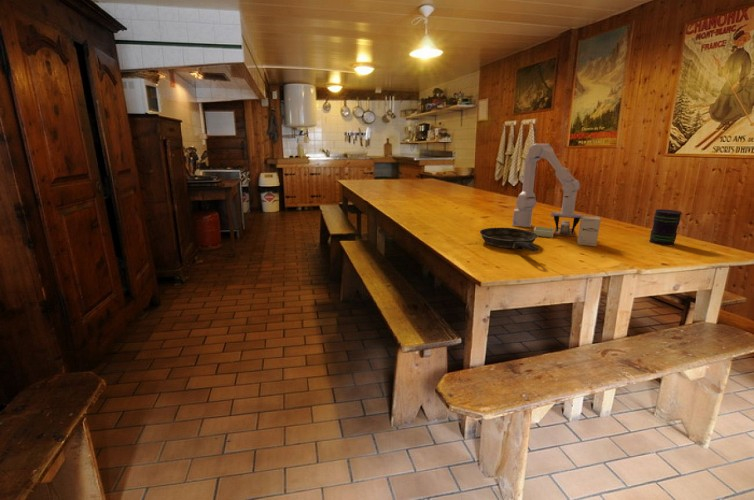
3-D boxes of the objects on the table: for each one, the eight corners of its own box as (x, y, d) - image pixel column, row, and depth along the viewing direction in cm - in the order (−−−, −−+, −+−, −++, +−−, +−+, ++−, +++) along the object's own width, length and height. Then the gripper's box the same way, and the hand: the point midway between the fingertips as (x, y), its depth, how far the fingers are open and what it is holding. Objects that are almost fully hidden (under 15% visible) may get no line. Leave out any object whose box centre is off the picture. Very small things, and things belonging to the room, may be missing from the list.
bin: (533, 235, 197) (533, 230, 196) (534, 231, 205) (535, 226, 204) (552, 237, 193) (553, 232, 193) (553, 233, 201) (554, 228, 200)
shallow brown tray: (554, 235, 198) (554, 233, 198) (555, 228, 212) (555, 227, 212) (574, 237, 195) (574, 235, 195) (573, 230, 209) (574, 228, 209)
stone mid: (560, 232, 203) (561, 223, 201) (560, 230, 206) (561, 222, 205) (568, 233, 201) (570, 224, 200) (568, 231, 204) (569, 222, 203)
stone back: (560, 230, 206) (561, 221, 205) (560, 228, 210) (561, 220, 209) (568, 231, 205) (569, 222, 204) (568, 229, 208) (569, 221, 207)
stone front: (559, 234, 199) (561, 225, 197) (560, 232, 202) (561, 223, 201) (568, 235, 197) (570, 226, 196) (568, 233, 201) (570, 224, 199)
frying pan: (473, 236, 195) (474, 223, 193) (525, 237, 194) (526, 223, 192) (498, 265, 153) (500, 248, 151) (564, 266, 152) (567, 249, 151)
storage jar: (676, 242, 186) (683, 211, 182) (672, 246, 180) (680, 214, 175) (651, 239, 193) (657, 208, 189) (646, 242, 186) (653, 211, 182)
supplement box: (578, 245, 181) (582, 217, 178) (577, 241, 188) (581, 214, 184) (596, 246, 179) (601, 219, 175) (594, 242, 185) (599, 216, 182)
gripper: (552, 205, 195) (548, 232, 199) (585, 207, 189) (580, 235, 193) (552, 202, 201) (549, 229, 205) (584, 205, 195) (580, 232, 199)
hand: (564, 231), depth 199 cm, fingers open, 6 cm apart
